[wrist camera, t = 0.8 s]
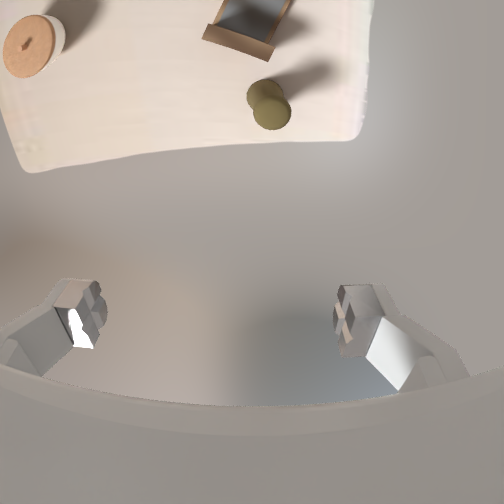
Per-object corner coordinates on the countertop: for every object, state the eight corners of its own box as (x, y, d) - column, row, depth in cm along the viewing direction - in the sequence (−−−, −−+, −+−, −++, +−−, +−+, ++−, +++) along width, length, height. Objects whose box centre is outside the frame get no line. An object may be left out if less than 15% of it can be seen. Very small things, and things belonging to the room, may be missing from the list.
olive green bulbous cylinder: (288, 104, 45) (303, 125, 38) (256, 118, 47) (262, 143, 39) (274, 73, 42) (285, 87, 34) (240, 88, 43) (243, 106, 35)
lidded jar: (18, 51, 30) (-13, 63, 23) (49, 3, 26) (18, 5, 19) (53, 78, 36) (24, 92, 29) (86, 29, 32) (59, 34, 25)
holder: (240, -34, 28) (243, -45, 22) (298, -12, 31) (310, -18, 25) (205, 38, 37) (200, 40, 31) (261, 58, 40) (267, 63, 34)
